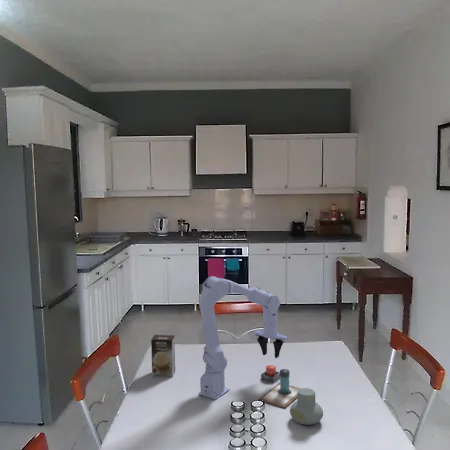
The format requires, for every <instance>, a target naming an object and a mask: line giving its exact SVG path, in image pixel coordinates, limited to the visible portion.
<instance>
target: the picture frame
mask: <svg viewBox="0 0 450 450" xmlns="http://www.w3.org/2000/svg"><path fill="white" fill-rule="evenodd" d="M299 389H302V388H300V387H296V386H293V385H290V384H289V393H287V394H284V393H281V392H280V382H279V383H277V384H276V385H275V386H273V387H272V388H270V389H269V390H268V391H266V392H265V393H264V394H263V395H262V396H260V397H259V398H258V401H259V400H263V401H264V402H263V403H266V404H270V405H272V406H275V407H278V408H281V409H287V408H288V407H289V406H290V405H292V404H293V403H294V402H295V401H297V392H298V390H299Z"/></svg>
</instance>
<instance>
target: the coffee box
mask: <svg viewBox="0 0 450 450" xmlns="http://www.w3.org/2000/svg"><path fill="white" fill-rule="evenodd" d="M175 336H176V335H174V334H172V335H171V334H170V335H169V334H154V335H153V336H152V338H151V340H150V344H151V346H150V347H151V377H155V378H156V377H160V378H161V377H162V378H173V377H174V375H175V373H176V337H175Z"/></svg>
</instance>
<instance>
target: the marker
mask: <svg viewBox="0 0 450 450" xmlns="http://www.w3.org/2000/svg"><path fill="white" fill-rule="evenodd" d="M279 372H280V378H279V383H280V392H281V393H284V394H287V393H289V385H290V370H289V369H288V368H287V369H286V368H284V369H280V370H279Z"/></svg>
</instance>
